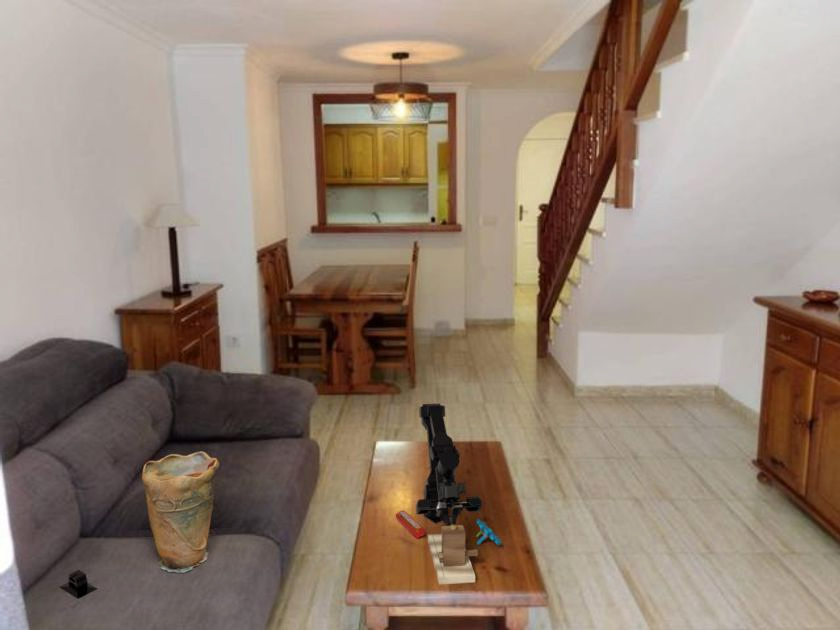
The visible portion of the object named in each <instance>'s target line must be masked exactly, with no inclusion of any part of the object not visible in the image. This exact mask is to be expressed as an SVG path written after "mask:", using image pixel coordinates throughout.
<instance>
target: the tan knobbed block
mask: <svg viewBox="0 0 840 630" xmlns="http://www.w3.org/2000/svg"><path fill="white" fill-rule="evenodd" d="M441 534H442V552H439V558H440V559H439V562H440V563H441V561H442V562H443V566H455V565H465V557H466V556H468V557H478V556H479V552H478V551H479V550H478V549H466V550H465V548H466V530H465V527H464V525H463V524H461V525H458V524H452V525H451V526H445V525H443V526H441Z"/></svg>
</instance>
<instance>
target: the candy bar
mask: <svg viewBox="0 0 840 630" xmlns="http://www.w3.org/2000/svg"><path fill="white" fill-rule="evenodd" d="M395 517H396V520H397V521H398V522H399V523H400V524H401V525H402V526H403V527H404V528H405V529H406V530H407V532H408V533H410V534H411V535H412V536H413V538H415V539H419V538H421V537H422V536H425V535H426V533H425V530H424V528H423V527H422V526H421V525H420V524H419V523H418V522H417V521H416V520H415V519H414V518H413V517H412V516H411V515H410V514H409V513H408V512H407V511H405V510H400V511H399V512H397V513H396V514H395Z"/></svg>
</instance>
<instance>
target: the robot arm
mask: <svg viewBox="0 0 840 630" xmlns="http://www.w3.org/2000/svg"><path fill="white" fill-rule="evenodd" d="M418 416H419V418H420V419H421V420H420V422H421V425H422V426H423V428H424V429H425V430H426V436H427V449H428V459H429V460H428V461H429V463H428V464H429V472H430V473H429V475H428V477H427V480H426V481H425V483H426V484H425V485H424V487H423V498H421V499H418V500H417V502H416V506H415V507H416V508H415V509H416V514H417V515H423V517H425V518H427V520H429V521H431V522H432V523H435V524H437V523H439V522H442V523H443V524H444V526H451V525H452V524H455V525H457V524H456V523H457V519H458V516H461V515H462V512H463V510H464V508H465V510H466V511H467V512H470V513H471V512H479V511H480V510H481V508H482V506H483V502H482V498H481V497H480V496H467V498H466V500H460V498H461V495H466V493H467V487H466V482H464V481H463V482H458V483H457V481H456V472H457V470H458V467H459V465H460V464H459V463H460V452H459V450H458V449H457V447H456V445H454V441H453V439H452V437H450V436H449V435H448V434H447V427H446V424H445V419H444V417H446V406H445V405H442V404H441V403H438V402H437V403H422V405H421V406H420V407H418ZM459 500H460V501H459ZM450 509H451V512H449V510H450Z"/></svg>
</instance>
